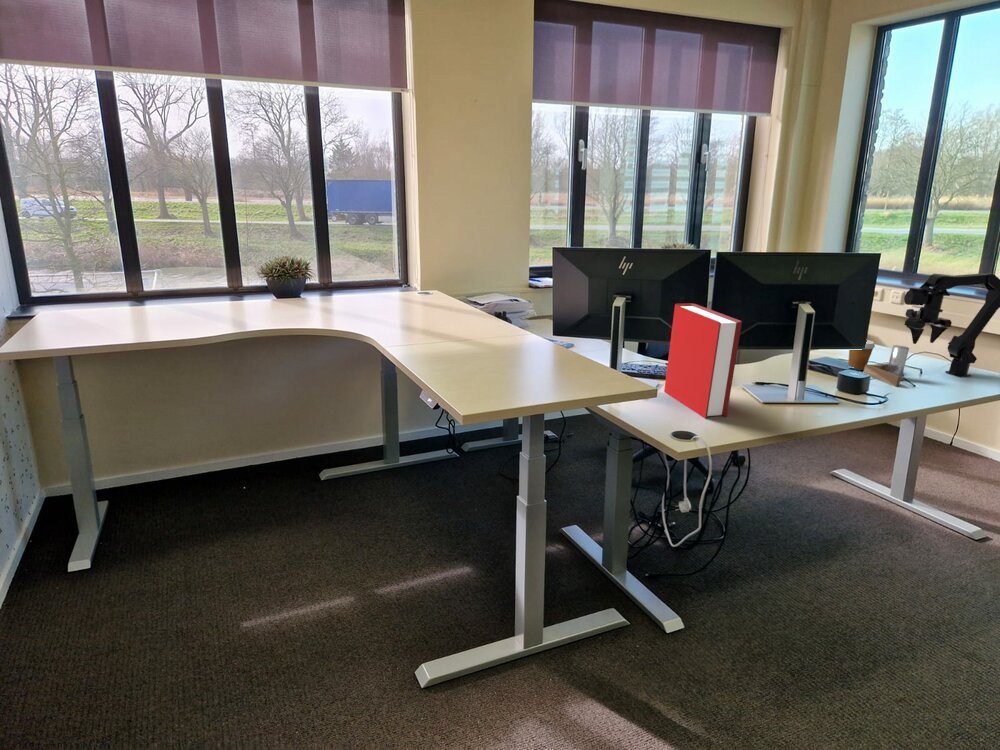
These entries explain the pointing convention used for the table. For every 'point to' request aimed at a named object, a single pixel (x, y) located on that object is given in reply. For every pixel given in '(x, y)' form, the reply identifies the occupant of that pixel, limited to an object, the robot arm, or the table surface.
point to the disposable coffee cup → (861, 356)
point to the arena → (882, 374)
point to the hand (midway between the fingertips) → (922, 343)
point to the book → (702, 359)
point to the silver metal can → (898, 360)
